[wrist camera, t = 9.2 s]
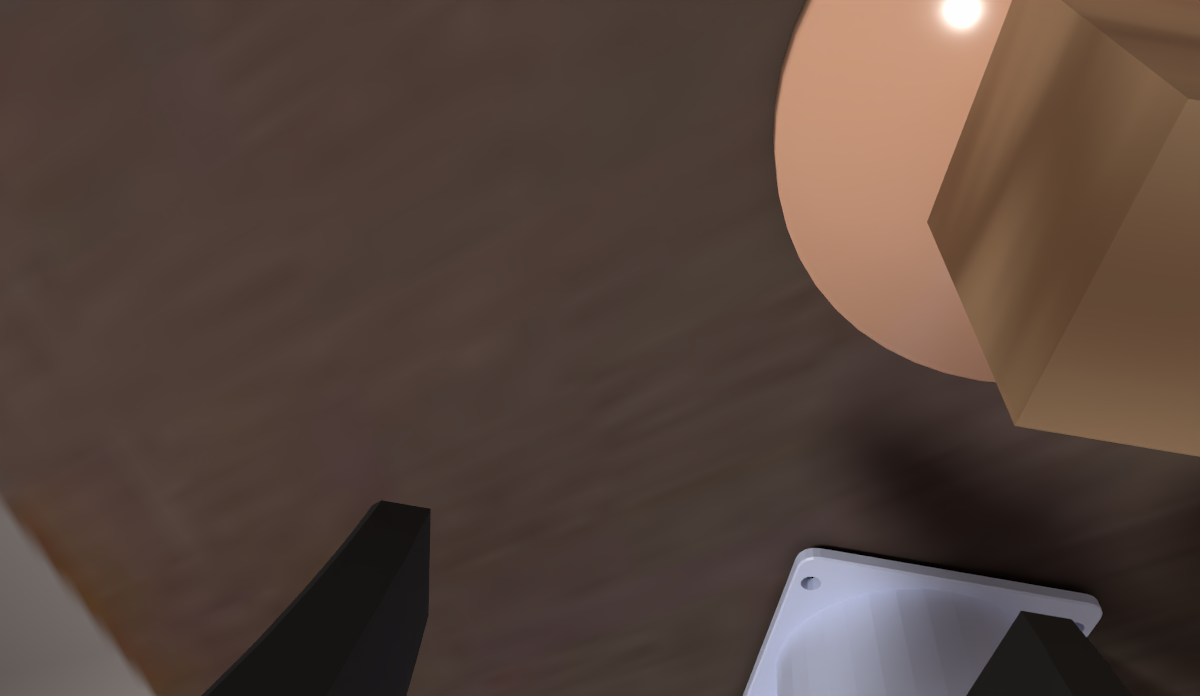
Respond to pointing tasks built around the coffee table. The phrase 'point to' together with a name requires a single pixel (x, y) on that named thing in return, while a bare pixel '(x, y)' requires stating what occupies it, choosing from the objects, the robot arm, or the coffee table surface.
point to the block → (1085, 219)
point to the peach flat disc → (882, 162)
